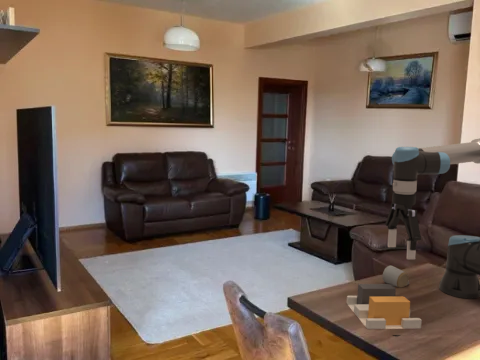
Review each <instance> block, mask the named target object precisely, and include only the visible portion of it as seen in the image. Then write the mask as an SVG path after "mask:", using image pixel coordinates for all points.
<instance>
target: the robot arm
mask: <svg viewBox="0 0 480 360" xmlns="http://www.w3.org/2000/svg"><path fill="white" fill-rule="evenodd" d="M391 162H392V165H393V178H392V179H393V181H392V182H393V183H392V191H393V192H392V197H391V202H390V207H389V208H390V209H389V212H388V214H387V218H386V220H385V227H387V229H388V237H387V247H388V248H397V232H398V231H397V230H398V228H397V227H398V225H399V224H400V222H401V221H402V222H401V223H404V226H405V230H406V234H407V237H408V238H407V242H406V260H416V253H417V242H418V241H421V240H422V236H421V235H422V234H421V231H420V225H419V220H418V210H417V209H412V206H414V205H416V203H417V201H416V200H417V194H416V192H417V184H418V176H419V175H440V174H441V175H442V174H445V173H447V172H448V171H449V170H450V168H451V165H457V164H463V163H475V164H480V138H474V139H472V140H471V141H470V142H462V143H453V144H452V143H451V144H444V145H443V144H442V145H437V146H429V147H428V146H426V147H416V146H398V147H396V148H395V150H394V152H393V153H392V156H391ZM448 239H449V240H448V244H447V253H446V265H445V271H444V272H443V273H444V274H443V275H442V278H441V280H440V281H439V286H438V287H439V290H440V291H441V292H443V293H444V294H447V295H449V296H452V297H456V298H461V299H469V300H470V299H478V298H480V280H479V276H480V236H476V235H464V234H463V235H459V234H458V235H452V236H450V237H449V238H448Z"/></svg>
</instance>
